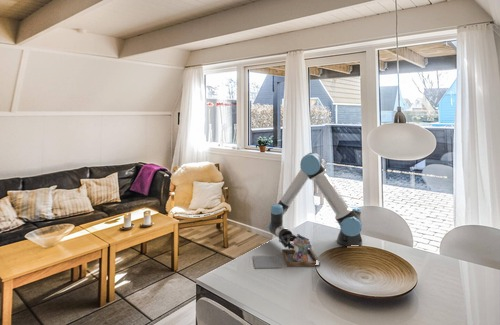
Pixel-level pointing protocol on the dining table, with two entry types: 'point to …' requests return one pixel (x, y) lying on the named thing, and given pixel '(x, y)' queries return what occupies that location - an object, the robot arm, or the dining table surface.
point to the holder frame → (298, 264)
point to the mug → (301, 249)
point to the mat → (266, 262)
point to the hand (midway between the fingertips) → (304, 248)
